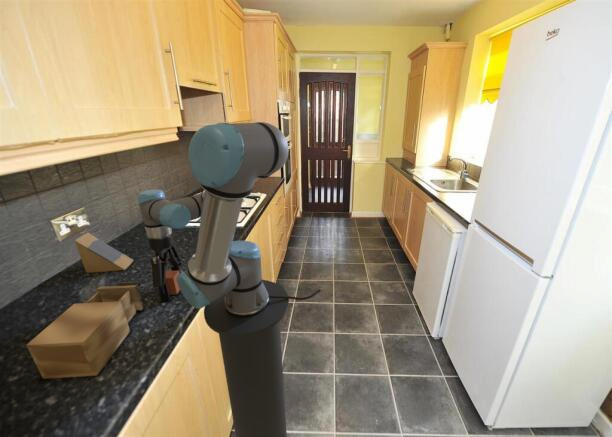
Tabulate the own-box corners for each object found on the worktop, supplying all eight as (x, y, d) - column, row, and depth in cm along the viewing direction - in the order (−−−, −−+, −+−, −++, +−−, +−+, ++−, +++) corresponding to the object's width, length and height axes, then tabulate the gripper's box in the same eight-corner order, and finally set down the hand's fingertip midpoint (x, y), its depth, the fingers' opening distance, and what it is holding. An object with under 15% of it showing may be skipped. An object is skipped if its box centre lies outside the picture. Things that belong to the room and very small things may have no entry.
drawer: (117, 298, 93) (110, 276, 90) (151, 296, 94) (146, 275, 90) (76, 342, 75) (65, 316, 72) (118, 339, 76) (110, 314, 72)
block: (182, 286, 101) (178, 270, 98) (177, 294, 96) (173, 277, 94) (168, 287, 101) (164, 270, 98) (162, 295, 96) (158, 278, 93)
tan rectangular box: (85, 333, 79) (74, 303, 75) (130, 331, 80) (120, 301, 76) (42, 378, 65) (25, 345, 62) (97, 375, 66) (83, 342, 62)
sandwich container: (125, 270, 112) (115, 237, 107) (85, 273, 110) (73, 240, 105) (134, 260, 120) (126, 229, 115) (97, 262, 118) (87, 231, 113)
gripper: (163, 223, 101) (174, 273, 109) (129, 251, 80) (146, 311, 87) (183, 222, 101) (193, 272, 109) (155, 250, 80) (169, 310, 88)
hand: (172, 290), depth 98 cm, fingers open, 10 cm apart
